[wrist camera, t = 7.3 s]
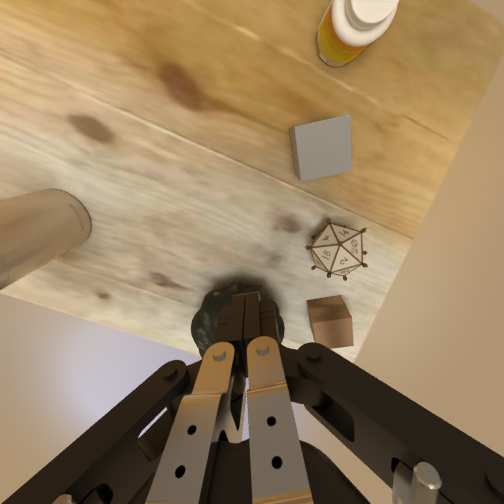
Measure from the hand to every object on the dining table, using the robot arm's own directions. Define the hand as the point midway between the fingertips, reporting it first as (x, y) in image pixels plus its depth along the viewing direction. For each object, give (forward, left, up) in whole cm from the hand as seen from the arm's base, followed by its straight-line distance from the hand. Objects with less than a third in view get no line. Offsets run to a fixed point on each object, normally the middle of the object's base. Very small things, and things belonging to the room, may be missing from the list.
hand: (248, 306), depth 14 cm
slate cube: (+9, +6, -25) cm, 27 cm away
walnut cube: (+8, -22, -25) cm, 35 cm away
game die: (+10, -8, -25) cm, 29 cm away
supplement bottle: (+13, +17, -25) cm, 33 cm away
